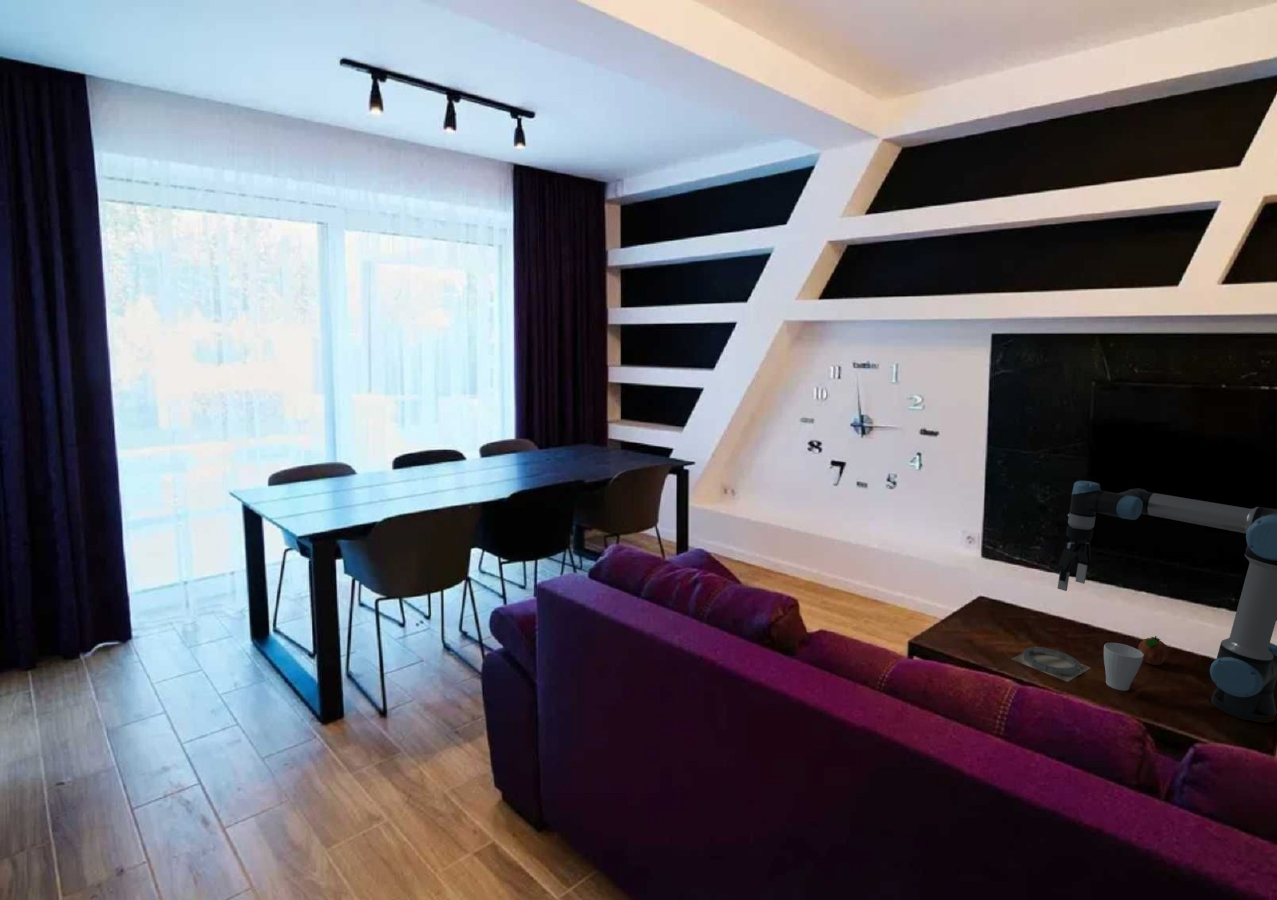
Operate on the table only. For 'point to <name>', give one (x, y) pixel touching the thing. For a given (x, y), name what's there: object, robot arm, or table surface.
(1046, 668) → the ring collar
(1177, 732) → the table surface
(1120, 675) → the cup
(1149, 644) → the fruit
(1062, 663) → the board
